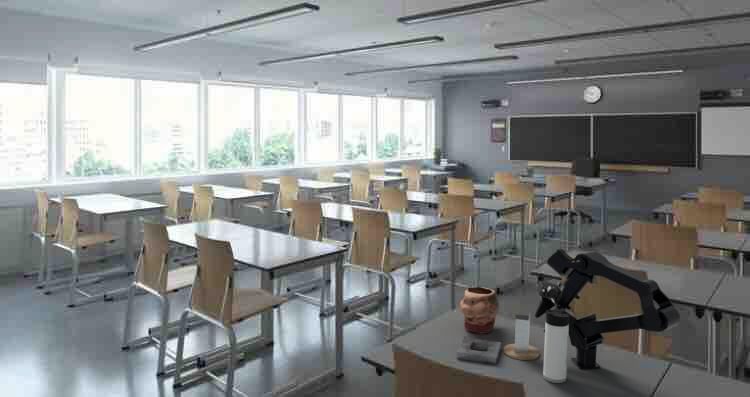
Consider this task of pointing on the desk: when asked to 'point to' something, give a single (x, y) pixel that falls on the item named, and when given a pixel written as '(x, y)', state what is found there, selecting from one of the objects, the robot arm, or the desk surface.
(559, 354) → the travel mug
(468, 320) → the decorative planter
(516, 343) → the grey square bar
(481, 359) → the grey flat square frame
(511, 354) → the walnut coaster
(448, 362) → the desk surface
